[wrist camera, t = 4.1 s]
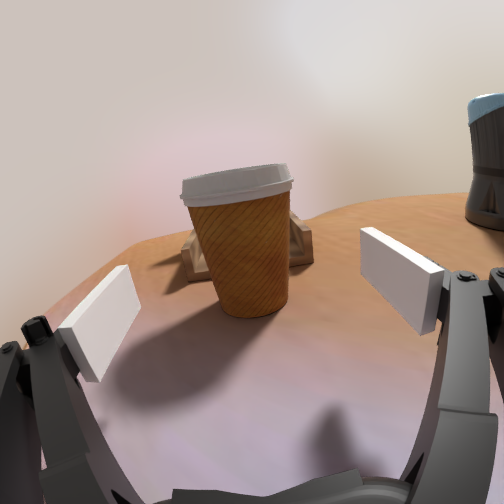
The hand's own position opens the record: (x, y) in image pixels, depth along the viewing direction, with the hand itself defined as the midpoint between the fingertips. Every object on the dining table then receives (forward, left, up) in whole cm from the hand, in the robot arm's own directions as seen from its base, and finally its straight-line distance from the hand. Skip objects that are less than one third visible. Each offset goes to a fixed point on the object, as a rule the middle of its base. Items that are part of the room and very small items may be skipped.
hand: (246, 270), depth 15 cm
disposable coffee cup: (-9, -4, -7) cm, 12 cm away
